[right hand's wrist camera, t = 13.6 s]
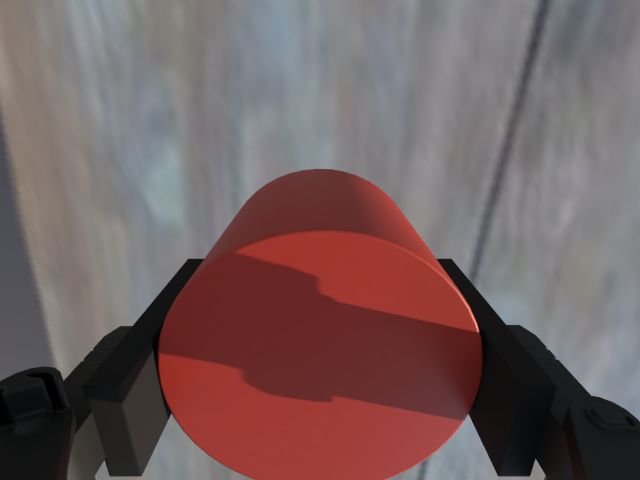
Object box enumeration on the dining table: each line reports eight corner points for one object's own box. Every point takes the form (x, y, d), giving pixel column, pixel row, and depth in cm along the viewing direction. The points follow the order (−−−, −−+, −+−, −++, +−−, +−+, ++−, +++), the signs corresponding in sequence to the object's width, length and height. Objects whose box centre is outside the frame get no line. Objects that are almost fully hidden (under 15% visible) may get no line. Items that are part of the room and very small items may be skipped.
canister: (295, 126, 14) (271, 151, 7) (452, 241, 16) (555, 351, 9) (193, 280, 17) (102, 410, 10) (339, 365, 18) (350, 526, 11)
